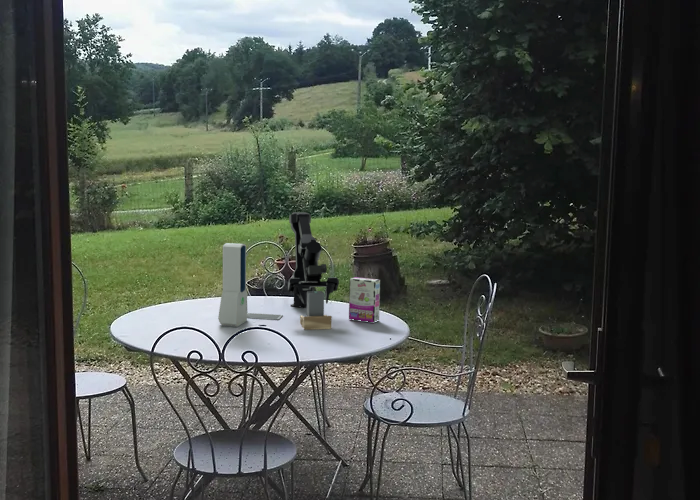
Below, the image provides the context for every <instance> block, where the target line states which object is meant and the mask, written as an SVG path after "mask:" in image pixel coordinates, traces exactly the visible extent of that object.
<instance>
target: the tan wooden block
mask: <svg viewBox="0 0 700 500" xmlns="http://www.w3.org/2000/svg"><path fill="white" fill-rule="evenodd" d="M299 316H300V317H299V324H300V325H301V327H302V328H303V330H304V331H306V330H307V331H308V330H311V331H312V330H331V329H332V319H333V317H332V316H331V315H327V314H324V316H307V315H305V316H304V315H302V314H301V315H299Z"/></svg>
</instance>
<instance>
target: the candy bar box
mask: <svg viewBox="0 0 700 500" xmlns="http://www.w3.org/2000/svg"><path fill="white" fill-rule="evenodd" d="M348 294H349V295H348V296H349V298H348V299H349V301H348V320H349V319H354V320H361V321H368V322H375V321H377V320H379V321H380V306H381V305H380V304H381V303H380V301H381V300H380V299H381V279H375V278H367V277H357V276H354V277H351V278H349V292H348ZM368 322H367V323H368Z"/></svg>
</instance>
